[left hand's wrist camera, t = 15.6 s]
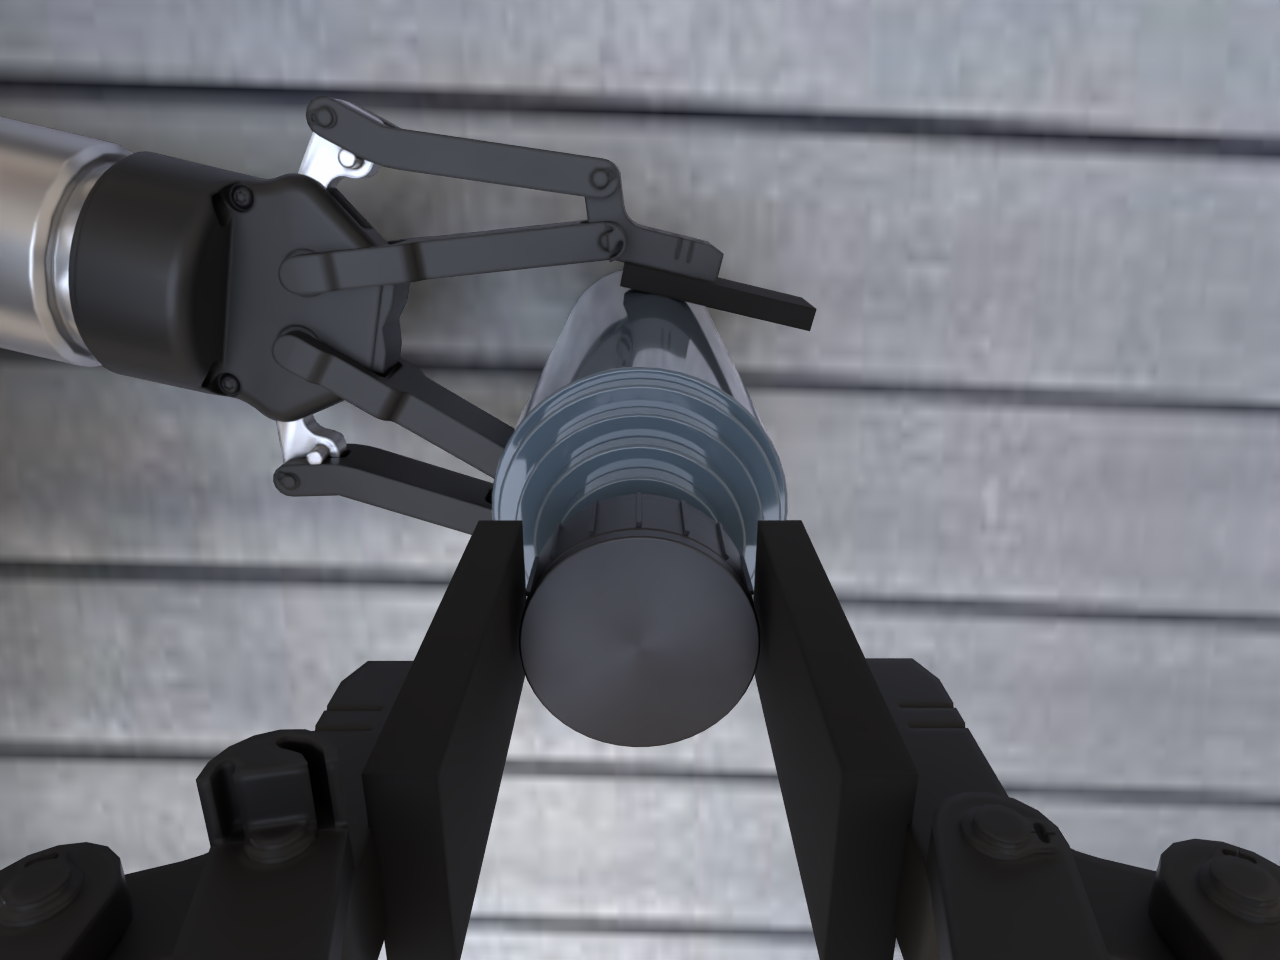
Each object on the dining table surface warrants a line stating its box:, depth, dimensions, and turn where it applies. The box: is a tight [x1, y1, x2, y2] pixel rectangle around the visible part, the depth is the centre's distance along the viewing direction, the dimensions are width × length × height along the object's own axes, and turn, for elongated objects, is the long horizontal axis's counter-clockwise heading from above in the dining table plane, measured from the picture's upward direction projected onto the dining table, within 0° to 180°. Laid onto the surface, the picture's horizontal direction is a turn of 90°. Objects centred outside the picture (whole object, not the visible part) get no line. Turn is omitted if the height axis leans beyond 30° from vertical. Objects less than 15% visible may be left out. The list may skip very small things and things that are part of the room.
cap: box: [518, 492, 761, 747], centre depth 14 cm, size 4×4×2 cm
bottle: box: [492, 270, 788, 590], centre depth 25 cm, size 6×6×24 cm
